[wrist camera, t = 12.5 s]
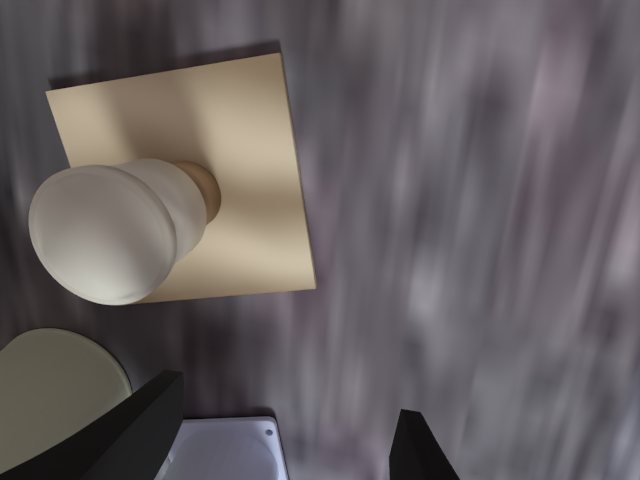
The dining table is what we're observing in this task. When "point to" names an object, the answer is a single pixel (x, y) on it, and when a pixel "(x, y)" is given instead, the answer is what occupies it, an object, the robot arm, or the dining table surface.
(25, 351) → the can
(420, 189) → the dining table surface
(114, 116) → the square wooden board
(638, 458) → the dining table surface
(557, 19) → the dining table surface
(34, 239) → the cap
